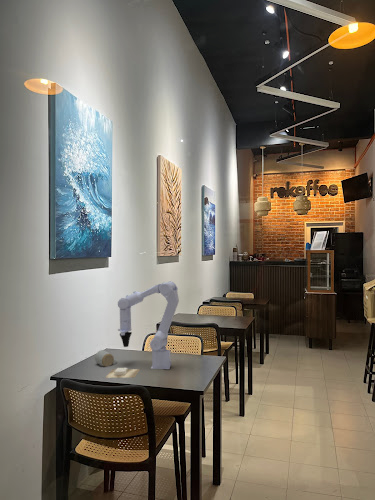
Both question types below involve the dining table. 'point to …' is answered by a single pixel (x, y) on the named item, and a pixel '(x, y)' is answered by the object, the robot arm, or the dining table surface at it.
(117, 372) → the tile
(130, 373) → the board
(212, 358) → the dining table surface
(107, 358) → the ceramic mug
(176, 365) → the dining table surface
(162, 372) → the dining table surface
